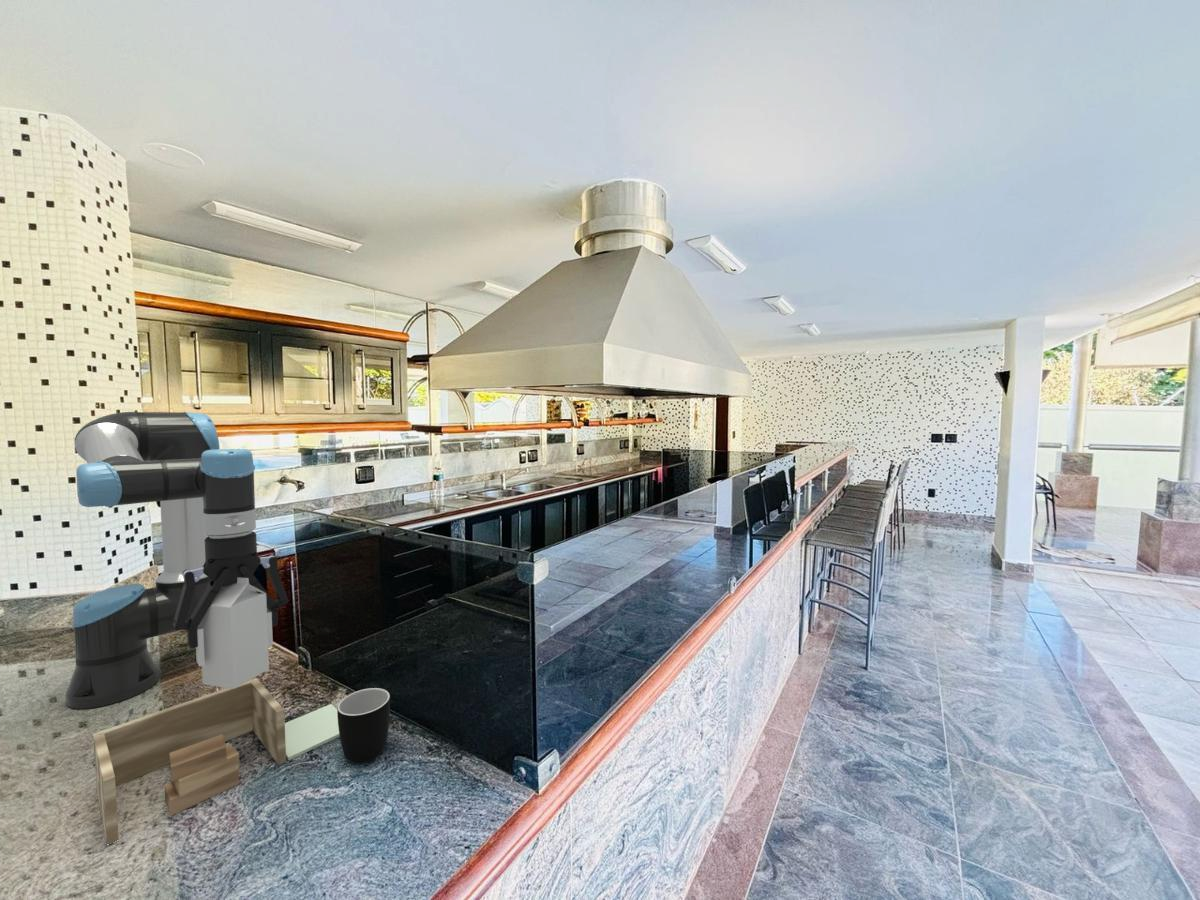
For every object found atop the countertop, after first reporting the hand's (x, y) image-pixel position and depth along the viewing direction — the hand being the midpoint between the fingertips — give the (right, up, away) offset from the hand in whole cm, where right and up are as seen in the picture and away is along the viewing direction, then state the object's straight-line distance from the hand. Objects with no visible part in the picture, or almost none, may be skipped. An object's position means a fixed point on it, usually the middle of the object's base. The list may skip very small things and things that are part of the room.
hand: (236, 653), depth 89 cm
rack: (-5, -20, -4) cm, 21 cm away
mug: (+22, -20, +3) cm, 30 cm away
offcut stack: (0, -20, -7) cm, 22 cm away
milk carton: (0, -5, 0) cm, 5 cm away
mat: (+9, -19, +9) cm, 23 cm away
